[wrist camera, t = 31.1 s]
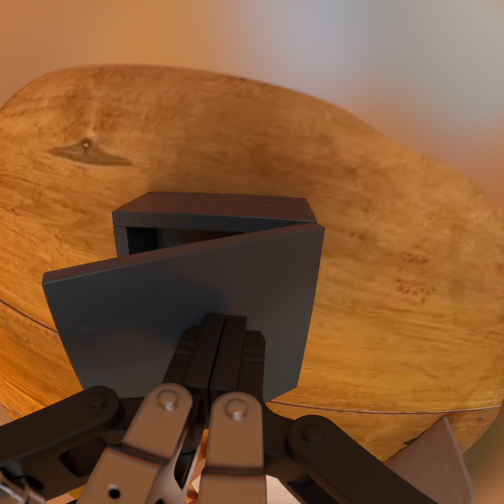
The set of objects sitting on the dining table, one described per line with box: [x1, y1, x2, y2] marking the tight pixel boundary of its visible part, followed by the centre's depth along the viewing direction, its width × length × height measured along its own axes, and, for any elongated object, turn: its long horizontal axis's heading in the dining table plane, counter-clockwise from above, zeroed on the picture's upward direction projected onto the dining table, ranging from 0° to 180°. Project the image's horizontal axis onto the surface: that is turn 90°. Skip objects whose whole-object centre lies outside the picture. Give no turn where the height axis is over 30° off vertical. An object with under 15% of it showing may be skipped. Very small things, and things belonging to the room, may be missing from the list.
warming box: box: [112, 192, 317, 257], centre depth 17 cm, size 10×10×5 cm
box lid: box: [42, 222, 325, 403], centre depth 12 cm, size 11×10×1 cm
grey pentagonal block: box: [383, 416, 475, 504], centre depth 20 cm, size 16×8×19 cm, turn 157°
